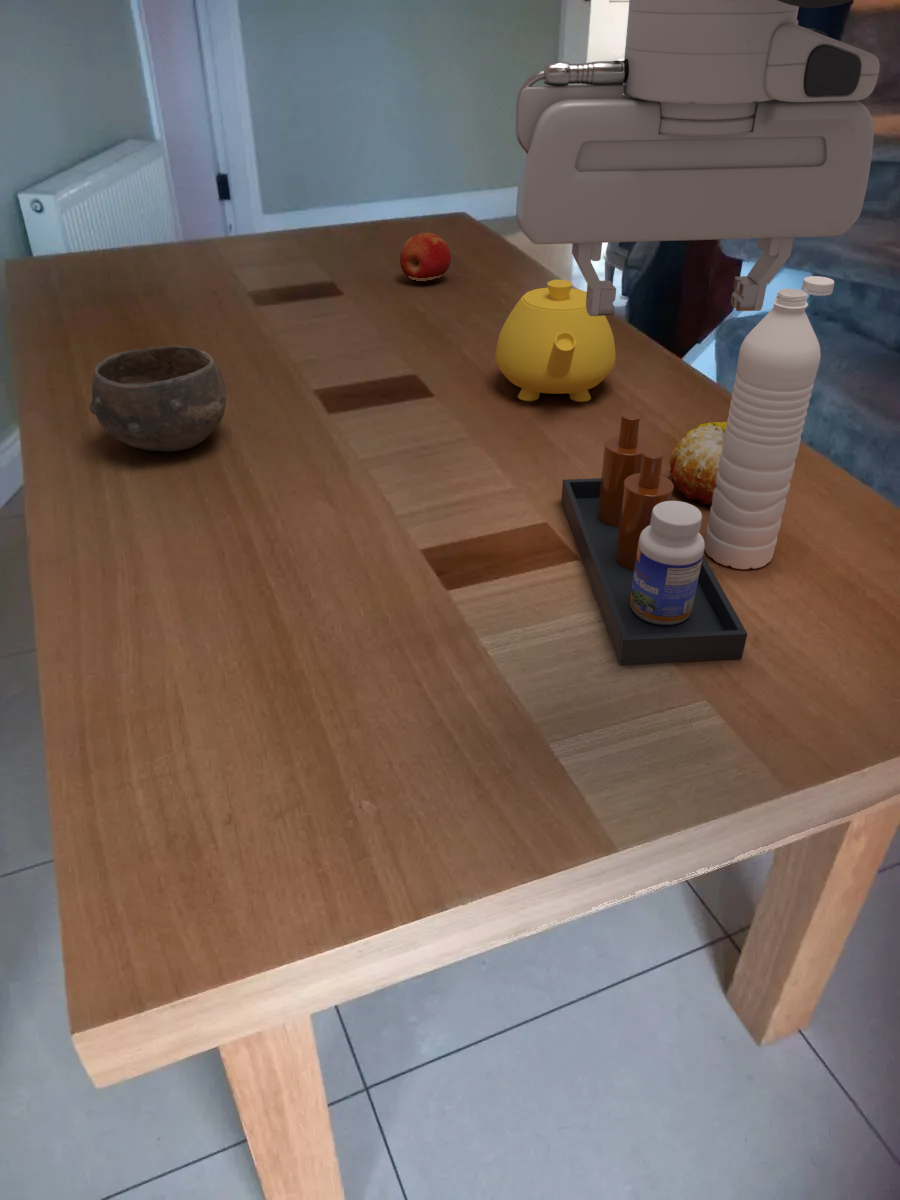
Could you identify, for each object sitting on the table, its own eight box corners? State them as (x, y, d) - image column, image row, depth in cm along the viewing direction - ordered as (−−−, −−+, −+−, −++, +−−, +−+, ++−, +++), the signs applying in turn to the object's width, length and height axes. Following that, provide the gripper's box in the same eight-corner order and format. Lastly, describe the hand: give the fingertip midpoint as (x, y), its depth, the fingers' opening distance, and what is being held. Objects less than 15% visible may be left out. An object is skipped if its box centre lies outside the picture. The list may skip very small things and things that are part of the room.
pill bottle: (618, 597, 82) (630, 501, 76) (673, 586, 83) (689, 491, 77) (647, 632, 77) (662, 533, 72) (704, 621, 79) (723, 522, 73)
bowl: (240, 460, 105) (228, 376, 99) (99, 480, 101) (77, 394, 95) (226, 412, 116) (214, 334, 110) (98, 428, 112) (78, 348, 106)
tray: (561, 501, 97) (562, 479, 95) (656, 497, 98) (659, 475, 96) (619, 665, 75) (623, 640, 73) (742, 658, 75) (747, 633, 74)
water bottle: (749, 579, 85) (809, 309, 70) (689, 551, 89) (735, 290, 74) (797, 544, 90) (863, 285, 75) (739, 520, 94) (791, 269, 79)
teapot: (622, 427, 112) (635, 314, 104) (494, 425, 112) (497, 313, 104) (606, 365, 128) (616, 264, 120) (494, 364, 129) (497, 263, 121)
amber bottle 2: (655, 545, 89) (670, 441, 82) (667, 570, 85) (684, 463, 79) (610, 547, 88) (622, 443, 82) (620, 573, 85) (634, 465, 78)
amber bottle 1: (635, 504, 95) (648, 405, 89) (645, 526, 91) (660, 424, 85) (593, 506, 95) (603, 406, 88) (602, 528, 91) (613, 426, 85)
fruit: (643, 468, 102) (672, 400, 98) (721, 482, 106) (751, 417, 102) (690, 515, 93) (723, 442, 89) (773, 528, 97) (808, 459, 93)
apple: (457, 281, 161) (457, 233, 156) (424, 292, 156) (424, 243, 151) (424, 272, 165) (423, 225, 160) (391, 282, 160) (389, 234, 155)
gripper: (525, 68, 47) (516, 333, 55) (911, 61, 48) (848, 322, 56) (510, 57, 52) (504, 300, 60) (859, 51, 53) (808, 291, 61)
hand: (672, 311), depth 58 cm, fingers open, 8 cm apart
